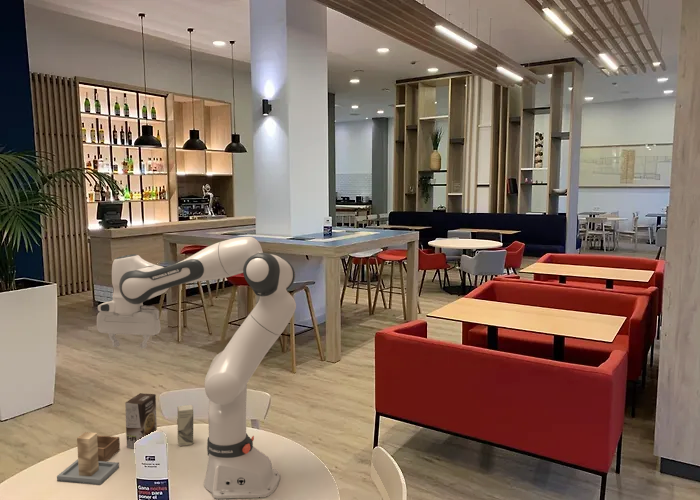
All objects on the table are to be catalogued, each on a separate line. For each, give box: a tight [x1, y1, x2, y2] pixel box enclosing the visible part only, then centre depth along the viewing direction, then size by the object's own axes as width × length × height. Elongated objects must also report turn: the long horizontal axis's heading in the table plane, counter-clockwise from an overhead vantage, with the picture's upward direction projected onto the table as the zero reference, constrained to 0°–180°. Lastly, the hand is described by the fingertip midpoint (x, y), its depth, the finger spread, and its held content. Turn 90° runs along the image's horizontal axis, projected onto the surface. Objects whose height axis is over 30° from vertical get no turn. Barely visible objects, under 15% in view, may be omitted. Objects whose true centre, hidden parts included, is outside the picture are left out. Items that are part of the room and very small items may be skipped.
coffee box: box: [124, 392, 158, 449], centre depth 185 cm, size 9×6×16 cm
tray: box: [56, 458, 120, 486], centre depth 165 cm, size 14×10×2 cm
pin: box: [76, 431, 99, 476], centre depth 164 cm, size 4×4×12 cm
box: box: [177, 404, 194, 447], centre depth 185 cm, size 5×4×13 cm
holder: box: [97, 434, 121, 462], centre depth 177 cm, size 8×8×4 cm
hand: (129, 347), depth 172 cm, fingers open, 8 cm apart
